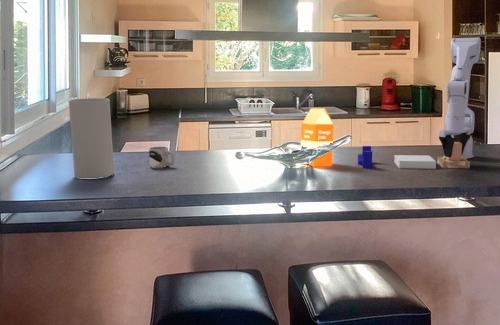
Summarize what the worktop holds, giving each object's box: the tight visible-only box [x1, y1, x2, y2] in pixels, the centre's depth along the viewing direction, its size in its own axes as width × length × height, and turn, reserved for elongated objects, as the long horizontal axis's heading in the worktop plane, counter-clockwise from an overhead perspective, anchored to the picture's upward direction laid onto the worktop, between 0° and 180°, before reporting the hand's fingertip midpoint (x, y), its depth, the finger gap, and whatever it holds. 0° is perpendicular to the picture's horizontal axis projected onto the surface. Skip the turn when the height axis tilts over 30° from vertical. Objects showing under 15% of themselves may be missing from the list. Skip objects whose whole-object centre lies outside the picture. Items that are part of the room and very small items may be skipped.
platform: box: [394, 154, 437, 170], centre depth 187 cm, size 12×11×2 cm
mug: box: [148, 146, 176, 167], centre depth 189 cm, size 10×7×7 cm
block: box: [446, 142, 462, 161], centre depth 185 cm, size 4×4×8 cm
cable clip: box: [357, 145, 373, 170], centre depth 188 cm, size 12×4×6 cm, turn 170°
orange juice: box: [300, 107, 334, 167], centre depth 189 cm, size 8×9×20 cm
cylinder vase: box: [68, 97, 115, 179], centre depth 174 cm, size 12×12×25 cm
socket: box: [436, 156, 471, 169], centre depth 185 cm, size 9×9×2 cm
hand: (453, 155), depth 185 cm, fingers closed on block, 6 cm apart
